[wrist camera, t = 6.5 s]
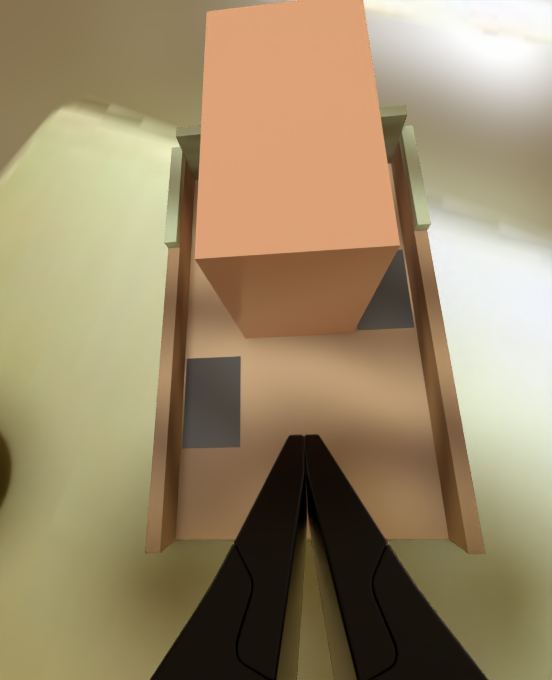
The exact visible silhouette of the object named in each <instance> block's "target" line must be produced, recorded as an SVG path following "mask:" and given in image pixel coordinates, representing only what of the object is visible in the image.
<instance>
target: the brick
mask: <svg viewBox="0 0 552 680" xmlns="http://www.w3.org/2000/svg"><path fill="white" fill-rule="evenodd" d="M204 61H205V62H204V80H203V99H202V120H201V140H200V160H199V180H198V200H197V220H196V241H195V260H196V262H197V264H198V265H199V267H200V268H201V270H202V271H203V273H204V275H205V276H206V278H207V279H208V281H209V282H210V284H211V285H212V287H213V289H214V290H215V292H216V293H217V295H218V296H219V298H220V300H221V301H222V303H223V304H224V306H225V307H226V309H227V310H228V312H229V314H230V315H231V317H232V318H233V320H234V321H235V323H236V325H237V326H238V328H239V329H240V331H241V332H242V334H243V335H244V337H245V339H246V338H267V337H288V336H309V335H330V334H351V333H353V332H354V330H355V328H356V327H357V325H358V323H359V321H360V319H361V317H362V315H363V314H364V312H365V310H366V308H367V306H368V304H369V302H370V300H371V299H372V297H373V295H374V293H375V291H376V289H377V287H378V286H379V284H380V282H381V280H382V278H383V276H384V274H385V273H386V271H387V269H388V267H389V265H390V263H391V261H392V259H393V258H394V256H395V254H396V252H397V250H398V248H399V246H400V241H399V235H398V228H397V222H396V215H395V208H394V202H393V195H392V189H391V182H390V175H389V169H388V162H387V156H386V149H385V142H384V136H383V129H382V123H381V116H380V109H379V103H378V96H377V91H376V83H375V76H374V70H373V63H372V57H371V50H370V43H369V37H368V31H367V24H366V17H365V10H364V4H363V0H297V1H288V2H280V3H272V4H264V5H256V6H248V7H241V8H232V9H224V10H216V11H208V12H207V20H206V39H205V59H204Z"/></svg>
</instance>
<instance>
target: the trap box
mask: <svg viewBox="0 0 552 680" xmlns="http://www.w3.org/2000/svg"><path fill="white" fill-rule="evenodd" d="M379 109H380V116H381V123H382V129H383V136H384V142H385V149H386V156H387V162H388V169H389V175H390V182H391V189H392V195H393V202H394V208H395V215H396V222H397V228H398V235H399V241H400V246H399V248H398V250H397V252H396V254H395V256H394V258H393V259H392V261H391V263H390V265H389V267H388V269H387V271H386V273H385V274H384V276H383V278H382V280H381V282H380V284H379V286H378V287H377V289H376V291H375V293H374V295H373V297H372V299H371V300H370V302H369V304H368V306H367V308H366V310H365V312H364V314H363V315H362V317H361V319H360V321H359V323H358V325H357V327H356V328H355V330H354V332H353V333H351V334H330V335H309V336H288V337H267V338H246V339H245V337H244V335H243V334H242V332H241V331H240V329H239V328H238V326H237V325H236V323H235V321H234V320H233V318H232V317H231V315H230V314H229V312H228V310H227V309H226V307H225V306H224V304H223V303H222V301H221V300H220V298H219V296H218V295H217V293H216V292H215V290H214V289H213V287H212V285H211V284H210V282H209V281H208V279H207V278H206V276H205V275H204V273H203V271H202V270H201V268H200V267H199V265H198V264H197V262H196V260H195V241H196V220H197V200H198V180H199V160H200V140H201V125H199V126H188V127H178V128H177V130H176V138H177V140H178V142H179V145H180V147H175V148H172V155H171V167H170V180H169V192H168V205H167V217H166V230H165V242H164V243H165V244H166V245H167V247H168V262H167V275H166V288H165V301H164V314H163V327H162V341H161V354H160V367H159V380H158V393H157V407H156V420H155V433H154V446H153V459H152V472H151V486H150V499H149V512H148V525H147V538H146V551H145V553H161V552H162V551H163V550H164V549H165V548H167V547H168V546H169V545H170V544H171V543H172V542H173V541H174V540H185V539H236V537H237V535H238V533H239V531H240V529H241V527H242V525H243V523H244V521H245V519H246V517H247V516H248V514H249V512H250V510H251V508H252V506H253V504H254V502H255V500H256V498H257V496H258V494H259V492H260V490H261V488H262V486H263V484H264V482H265V480H266V478H267V477H268V475H269V473H270V471H271V469H272V467H273V465H274V463H275V461H276V459H277V457H278V455H279V453H280V451H281V449H282V447H283V445H284V443H285V441H286V439H287V438H288V436H289V435H296V434H302V435H303V436H305V435H306V434H318V435H320V437H321V438H322V440H323V441H324V443H325V445H326V446H327V448H328V449H329V451H330V452H331V454H332V456H333V457H334V459H335V460H336V462H337V463H338V465H339V467H340V468H341V470H342V471H343V473H344V474H345V476H346V478H347V479H348V481H349V482H350V484H351V485H352V487H353V489H354V490H355V492H356V493H357V495H358V496H359V498H360V500H361V501H362V503H363V504H364V506H365V507H366V509H367V511H368V512H369V514H370V515H371V517H372V518H373V520H374V522H375V523H376V525H377V526H378V528H379V529H380V531H381V533H382V534H383V536H384V537H385V539H450V540H451V541H452V542H453V543H455V544H456V545H457V546H459V547H460V548H461V549H463V550H464V551H465V552H467V553H468V554H485V550H484V545H483V539H482V533H481V528H480V522H479V517H478V511H477V506H476V500H475V495H474V489H473V483H472V478H471V472H470V467H469V461H468V456H467V450H466V445H465V439H464V433H463V428H462V422H461V417H460V411H459V406H458V400H457V395H456V389H455V384H454V378H453V372H452V367H451V361H450V356H449V350H448V345H447V339H446V334H445V328H444V322H443V317H442V311H441V306H440V300H439V295H438V289H437V284H436V278H435V272H434V267H433V261H432V256H431V250H430V245H429V239H428V234H427V229H428V228H429V226H430V224H431V222H430V216H429V211H428V205H427V200H426V195H425V189H424V184H423V178H422V174H421V168H420V162H419V157H418V151H417V146H416V141H415V135H414V130H413V126H404V123H405V120H406V117H407V110H406V106H405V105H404V106H394V107H384V108H379ZM304 450H305V448H304ZM306 493H307V490H306ZM306 539H311V535H310V528H309V521H308V510H307V536H306Z"/></svg>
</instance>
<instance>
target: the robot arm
mask: <svg viewBox="0 0 552 680" xmlns="http://www.w3.org/2000/svg"><path fill="white" fill-rule="evenodd" d="M304 448H305V450H304ZM306 490H307V493H306ZM307 510H308V521H309V528H310V535H311V541H312V547H313V553H314V559H315V565H316V571H317V577H318V583H319V590H320V596H321V602H322V608H323V614H324V620H325V626H326V632H327V638H328V645H329V651H330V657H331V663H332V669H333V675H334V680H488V678H487V677H486V676H485V674H484V673H483V672H482V671H481V669H480V668H479V667H478V665H477V664H476V663H475V662H474V660H473V659H472V658H471V656H470V655H469V654H468V653H467V651H466V650H465V649H464V647H463V646H462V645H461V644H460V642H459V641H458V640H457V638H456V637H455V636H454V635H453V633H452V632H451V631H450V629H449V628H448V627H447V626H446V624H445V623H444V622H443V620H442V619H441V618H440V617H439V615H438V614H437V613H436V611H435V610H434V609H433V607H432V606H431V605H430V603H429V602H428V601H427V599H426V598H425V597H424V595H423V594H422V593H421V591H420V590H419V589H418V587H417V586H416V584H415V583H414V581H413V580H412V578H411V577H410V575H409V574H408V572H407V571H406V569H405V568H404V567H403V565H402V564H401V562H400V561H399V559H398V557H397V556H396V554H395V553H394V551H393V550H392V548H391V546H390V545H387V540H386V539H385V537H384V536H383V534H382V533H381V531H380V529H379V528H378V526H377V525H376V523H375V522H374V520H373V518H372V517H371V515H370V514H369V512H368V511H367V509H366V507H365V506H364V504H363V503H362V501H361V500H360V498H359V496H358V495H357V493H356V492H355V490H354V489H353V487H352V485H351V484H350V482H349V481H348V479H347V478H346V476H345V474H344V473H343V471H342V470H341V468H340V467H339V465H338V463H337V462H336V460H335V459H334V457H333V456H332V454H331V452H330V451H329V449H328V448H327V446H326V445H325V443H324V441H323V440H322V438H321V437H320V435H318V434H306V435H305V436H303V435H302V434H296V435H289V436H288V438H287V439H286V441H285V443H284V445H283V447H282V449H281V451H280V453H279V455H278V457H277V459H276V461H275V463H274V465H273V467H272V469H271V471H270V473H269V475H268V477H267V478H266V480H265V482H264V484H263V486H262V488H261V490H260V492H259V494H258V496H257V498H256V500H255V502H254V504H253V506H252V508H251V510H250V512H249V514H248V516H247V517H246V519H245V521H244V523H243V525H242V527H241V529H240V531H239V533H238V535H237V537H236V539H235V541H234V545H232V546H231V548H230V550H229V552H228V554H227V556H226V558H225V560H224V562H223V564H222V566H221V567H220V569H219V571H218V573H217V575H216V576H215V578H214V580H213V582H212V584H211V585H210V587H209V589H208V590H207V592H206V594H205V595H204V597H203V598H202V600H201V602H200V603H199V605H198V606H197V608H196V610H195V611H194V613H193V614H192V616H191V617H190V619H189V620H188V622H187V624H186V625H185V627H184V628H183V630H182V631H181V633H180V634H179V636H178V637H177V639H176V640H175V642H174V643H173V645H172V647H171V648H170V650H169V651H168V653H167V654H166V656H165V657H164V659H163V660H162V662H161V663H160V665H159V666H158V668H157V670H156V671H155V673H154V674H153V676H152V677H151V679H150V680H297V670H298V655H299V640H300V625H301V611H302V596H303V581H304V566H305V551H306V536H307Z"/></svg>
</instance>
